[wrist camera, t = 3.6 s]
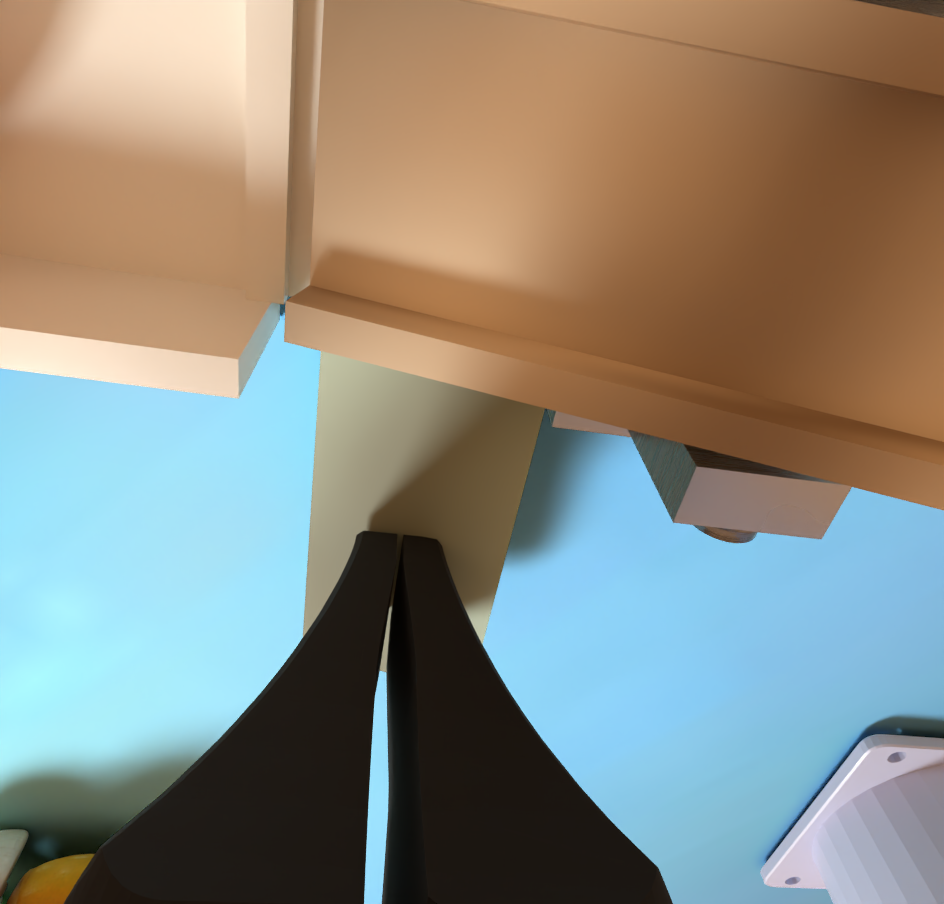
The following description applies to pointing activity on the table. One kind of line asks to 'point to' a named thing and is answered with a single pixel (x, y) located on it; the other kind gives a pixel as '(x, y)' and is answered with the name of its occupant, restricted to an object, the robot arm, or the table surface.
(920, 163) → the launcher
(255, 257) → the tan shallow rectangular box
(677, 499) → the mount
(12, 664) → the table surface
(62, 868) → the colorful rounded pieces cluster
